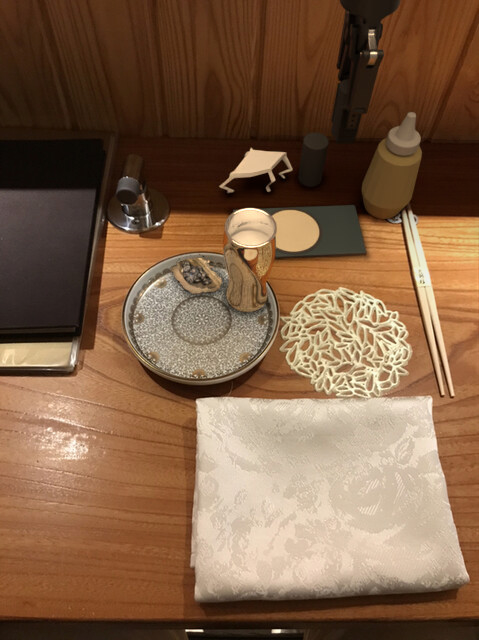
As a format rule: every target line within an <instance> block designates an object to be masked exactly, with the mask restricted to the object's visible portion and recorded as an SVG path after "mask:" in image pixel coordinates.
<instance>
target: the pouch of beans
mask: <svg viewBox="0 0 479 640" xmlns="http://www.w3.org/2000/svg"><path fill="white" fill-rule="evenodd" d="M183 262H184V263H183ZM210 262H211V261H210V259H208V260H207V258H206V257H205V258H194V259H185V260H183V261H180V262H177V261H176V265H173V266H172V267H170V272H171V273H173V276H174V278H175V279H176V281H179V285H182V288H183V289H184V290H186V291H188V292H190V294H191V295H192V294H199V295H200V294H202V293H205V294H206V293H210V292H211V293H213V292H216V291H219V289H221V285H222V281H223V280H222V277H221V276H219V274H218V273H217V271H213V270H212V268H213V266H212V265H211V264H210ZM182 263H183V265H182Z"/></svg>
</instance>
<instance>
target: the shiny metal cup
mask: <svg viewBox="0 0 479 640" xmlns="http://www.w3.org/2000/svg"><path fill="white" fill-rule="evenodd" d="M238 209H239V208H238ZM261 209H262V208H256V207H243V208H240V209H239V210H237V209H236V210H237V211H235V212H233V211H232V213H231V214H230V215H228V217H227V218H226V220H225V222H224V231H223V239H222V255H223V256H222V257H223V261H224V266H225V270H226V273H227V277H228V285H227V288H226V294H225V296H226V300H227V302H228V304H229V305H230V306H231V307H232V308H233V309H235V310H236V311H238V312H243V313H252V312H255V311H258V310H260V309H261V308H263V307H264V306H265V304H266V303H267V300H268V297H269V295H268V293H269V292H268V286H267V281H268V278H269V276H270V273H271V271H272V269H273V266H274V263H275V260H276V259H275V254H276V245H277V225H276V222H275V220H274V218H273V217H272V216H271V215H270V214H269V213H267V212H265V211H263V210H261ZM266 286H267V287H266Z"/></svg>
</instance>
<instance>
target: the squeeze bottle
mask: <svg viewBox="0 0 479 640" xmlns="http://www.w3.org/2000/svg"><path fill="white" fill-rule="evenodd" d="M416 120H417V114H416V113H415V112H414V111H408V112H407V114H406V116H405V117H404V119H403V120H402V122H401V123H400V125H398V126H395V127H392V128H391V129H390V130H389V131H388V134H387V137H386V138H383V139H382V140H381V141H380V142H379V143H378V145H377V147H376V149H375V152H374V154H373V157H372V159H371V162H370V164H369V167H368V169H367V171H366V173H365V176H364V178H363V180H362V185H361V189H360V190H361V195H362V202H363V206H364V209H365V211H366V212H367V213H368V214H369V215H370V216H372V217H374V218H377V219H381V220H386V219H391V218H394V217H396V216H397V215H398V214H399V213H400V212H401V211H402V210H403V209H404V208H405V207H406V206H407V205H408V204H409V202H410V201H411V200H412V199H413V194H414V190H415V185H416V181H417V177H418V174H419V168H420V166H421V160H422V155H423V151H422V149H421V146H420V144H421V138H422V137H421V134H420V133H419V132H418V131H417V130H416V122H417V121H416Z"/></svg>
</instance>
